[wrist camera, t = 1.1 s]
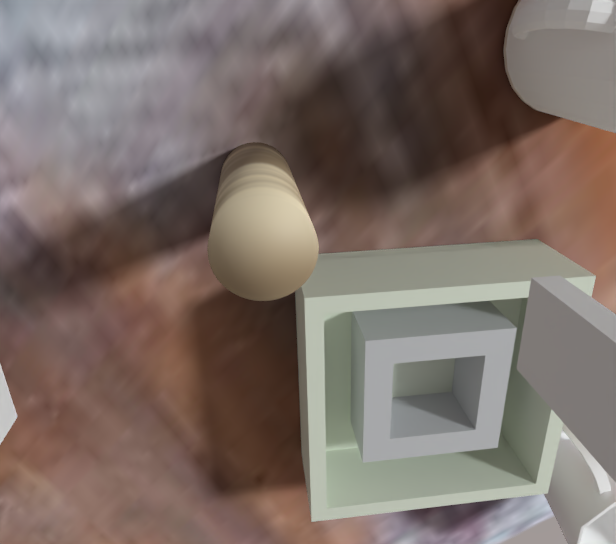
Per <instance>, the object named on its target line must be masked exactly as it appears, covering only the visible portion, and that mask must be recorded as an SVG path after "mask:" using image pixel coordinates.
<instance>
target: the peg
mask: <svg viewBox="0 0 616 544" xmlns="http://www.w3.org/2000/svg"><path fill="white" fill-rule="evenodd" d="M318 249H319V247H318V239H317V235H316V232H315V229H314V227H313V224H312V222H311V220H310V217H309V215H308V212H307V210H306V207H305V205H304V203H303V200H302V198H301V195H300V193H299V190H298V188H297V185H296V183H295V181H294V178H293V176H292V173H291V171H290V168H289V166H288V164H287V162H286V160H285V158H284V157H283V155H282V154H281V153H280V152H279V151H278V150H276V149H275V148H273V147H272V146H269V145H267V144H264V143H255V142H253V143H247V144H244V145H241V146H239V147H237V148H236V149H234V150H233V151H232V152H231V153H230V154H229V155H228V156H227V158H226V160H225V161H224V164H223V166H222V170H221V176H220V181H219V186H218V192H217V197H216V203H215V208H214V213H213V219H212V224H211V229H210V235H209V240H208V259H209V263H210V266H211V269H212V271H213V273H214V275H215V276H216V278H217V279H218V280H219V282H220V283H221V284H222V285H223V286H224V287H225V288H227V289H228V290H229V291H231V292H232V293H234V294H236V295H238V296H240V297H243V298H246V299H250V300H255V301H270V300H276V299H279V298H282V297H285V296H287V295H289V294H291V293H293V292H295V291H296V290H297V289H299V288H300V287H301V286H302V285H303V284H304V283H305V282H306V281H307V280H308V279H309V277H310V276H311V274H312V272H313V270H314V268H315V265H316V262H317V258H318Z"/></svg>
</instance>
